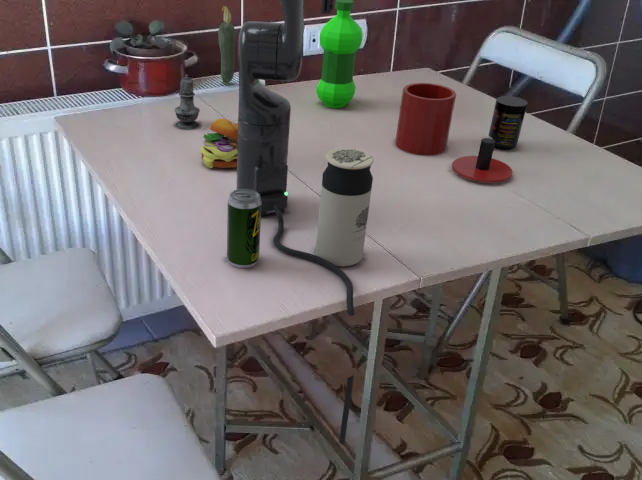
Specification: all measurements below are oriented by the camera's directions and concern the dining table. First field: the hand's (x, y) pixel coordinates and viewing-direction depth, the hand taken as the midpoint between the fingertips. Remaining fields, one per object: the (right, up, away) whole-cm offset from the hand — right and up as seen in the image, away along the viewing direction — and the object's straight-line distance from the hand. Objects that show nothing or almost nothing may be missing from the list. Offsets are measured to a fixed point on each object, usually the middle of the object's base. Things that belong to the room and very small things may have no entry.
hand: (310, 8), depth 146 cm
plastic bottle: (+9, -8, +43) cm, 45 cm away
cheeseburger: (-17, -28, +12) cm, 35 cm away
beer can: (-13, -51, -22) cm, 57 cm away
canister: (+27, -22, +23) cm, 41 cm away
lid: (+37, -30, +11) cm, 49 cm away
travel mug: (+3, -50, -19) cm, 53 cm away
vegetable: (-19, 0, +53) cm, 56 cm away
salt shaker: (-27, -16, +28) cm, 42 cm away
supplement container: (+45, -22, +25) cm, 56 cm away
